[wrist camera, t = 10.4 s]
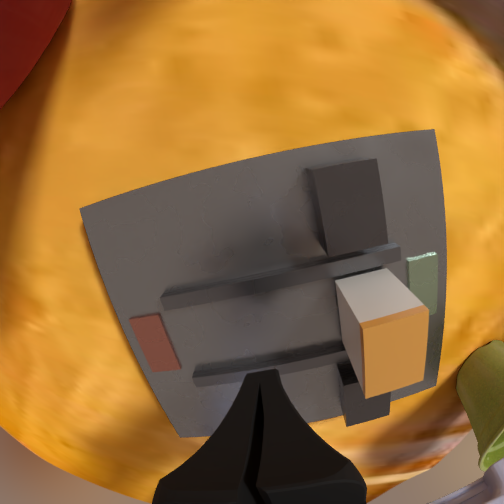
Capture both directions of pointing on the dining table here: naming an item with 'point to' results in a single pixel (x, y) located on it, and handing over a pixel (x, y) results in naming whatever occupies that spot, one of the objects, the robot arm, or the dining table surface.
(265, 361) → the panel
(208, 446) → the robot arm
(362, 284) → the white orange block
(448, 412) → the dining table surface
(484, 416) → the plant pot
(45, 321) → the dining table surface
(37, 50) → the mixing bowl
